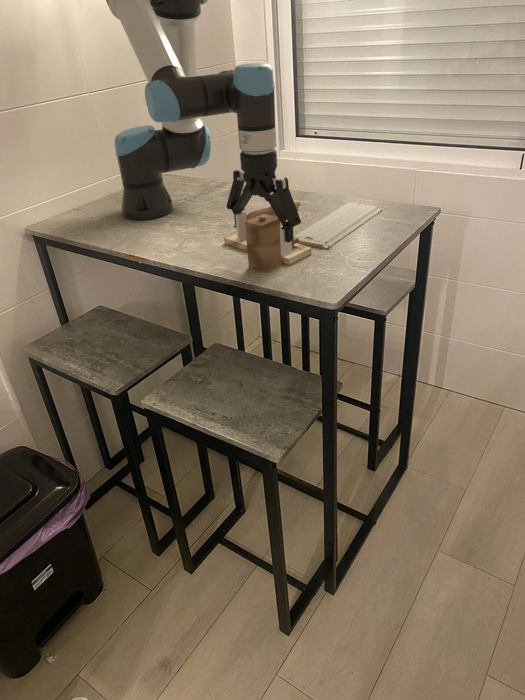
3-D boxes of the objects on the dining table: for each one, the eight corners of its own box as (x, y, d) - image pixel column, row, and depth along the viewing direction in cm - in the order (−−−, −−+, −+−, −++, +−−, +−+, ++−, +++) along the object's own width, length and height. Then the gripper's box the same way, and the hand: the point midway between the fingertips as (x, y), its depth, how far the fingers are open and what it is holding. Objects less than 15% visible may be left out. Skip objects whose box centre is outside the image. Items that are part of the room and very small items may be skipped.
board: (224, 243, 135) (224, 237, 134) (247, 233, 140) (246, 228, 139) (289, 264, 122) (288, 258, 121) (311, 253, 127) (311, 247, 126)
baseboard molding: (387, 213, 148) (348, 207, 154) (387, 202, 147) (348, 197, 153) (332, 252, 128) (290, 244, 134) (332, 241, 126) (290, 233, 132)
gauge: (248, 267, 122) (244, 218, 116) (289, 248, 130) (287, 201, 124) (264, 273, 119) (261, 223, 113) (304, 252, 127) (303, 205, 121)
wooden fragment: (248, 233, 141) (247, 229, 141) (223, 224, 148) (222, 220, 148) (316, 208, 155) (316, 204, 154) (290, 201, 162) (290, 197, 161)
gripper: (204, 146, 114) (215, 239, 125) (291, 162, 99) (294, 267, 110) (229, 139, 118) (237, 230, 130) (317, 153, 103) (317, 255, 115)
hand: (264, 247), depth 120 cm, fingers open, 13 cm apart
